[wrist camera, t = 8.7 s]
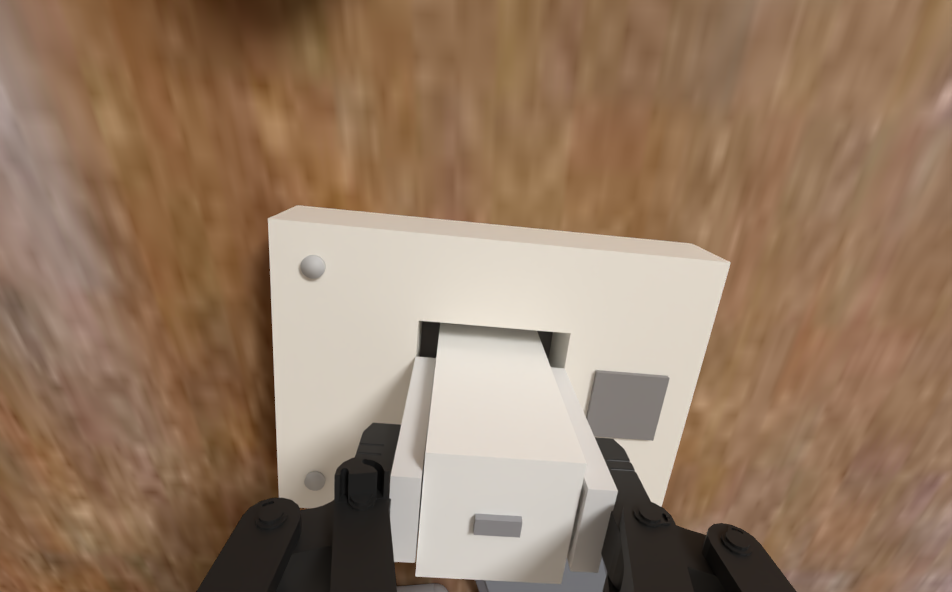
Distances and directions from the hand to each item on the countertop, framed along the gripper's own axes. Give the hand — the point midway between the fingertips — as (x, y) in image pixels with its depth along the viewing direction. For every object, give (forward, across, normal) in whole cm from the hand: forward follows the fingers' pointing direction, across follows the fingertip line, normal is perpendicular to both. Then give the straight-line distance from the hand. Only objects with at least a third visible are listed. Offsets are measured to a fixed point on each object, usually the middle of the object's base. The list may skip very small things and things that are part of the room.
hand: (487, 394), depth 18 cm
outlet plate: (+3, 0, 0) cm, 3 cm away
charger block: (+3, 0, 0) cm, 3 cm away
